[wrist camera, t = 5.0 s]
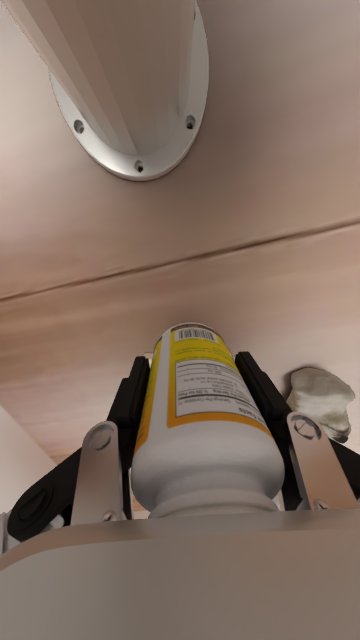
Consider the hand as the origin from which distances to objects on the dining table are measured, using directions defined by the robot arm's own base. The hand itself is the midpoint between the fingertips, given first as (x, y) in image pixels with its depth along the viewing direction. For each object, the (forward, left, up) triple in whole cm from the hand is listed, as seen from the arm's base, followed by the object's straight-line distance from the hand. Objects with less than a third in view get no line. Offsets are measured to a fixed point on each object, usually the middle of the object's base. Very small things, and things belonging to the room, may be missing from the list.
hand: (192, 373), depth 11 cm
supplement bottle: (0, 0, -3) cm, 3 cm away
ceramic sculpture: (+16, +20, -13) cm, 29 cm away
